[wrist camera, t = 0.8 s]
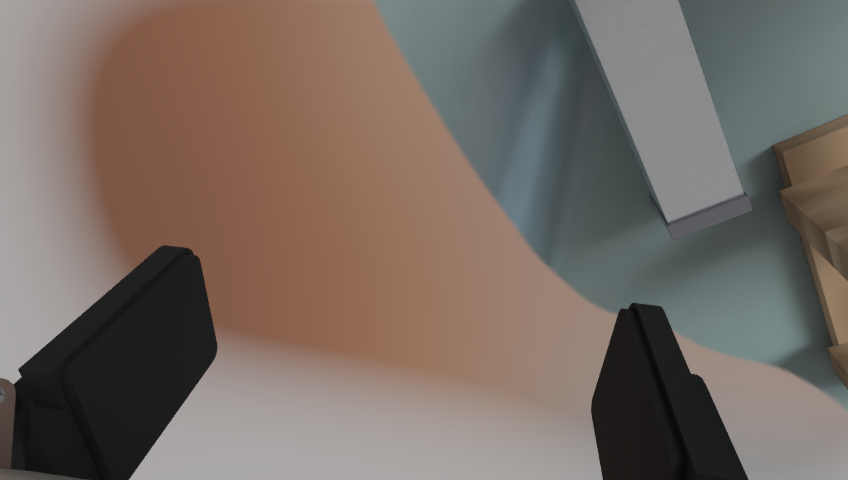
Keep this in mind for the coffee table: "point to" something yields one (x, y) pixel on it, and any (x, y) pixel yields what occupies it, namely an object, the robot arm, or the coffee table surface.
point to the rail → (664, 110)
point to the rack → (822, 220)
